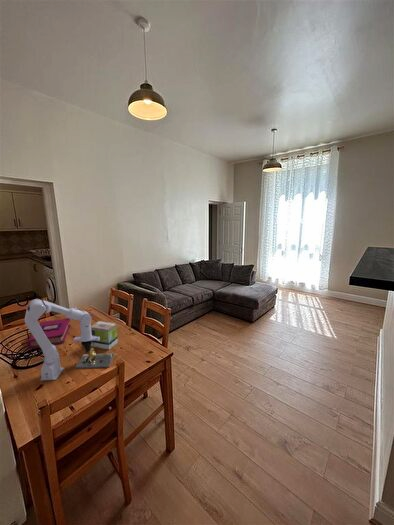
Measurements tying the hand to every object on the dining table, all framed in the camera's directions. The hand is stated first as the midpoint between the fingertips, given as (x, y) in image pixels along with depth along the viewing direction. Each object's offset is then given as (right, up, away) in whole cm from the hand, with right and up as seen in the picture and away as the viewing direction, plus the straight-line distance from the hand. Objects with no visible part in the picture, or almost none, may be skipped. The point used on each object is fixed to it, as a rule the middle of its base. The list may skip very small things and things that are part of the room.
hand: (88, 351), depth 134 cm
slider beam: (+5, -5, 0) cm, 7 cm away
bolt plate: (+5, -6, -1) cm, 8 cm away
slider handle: (+2, -4, 0) cm, 5 cm away
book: (-41, 0, +27) cm, 49 cm away
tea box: (+3, -3, +18) cm, 18 cm away
